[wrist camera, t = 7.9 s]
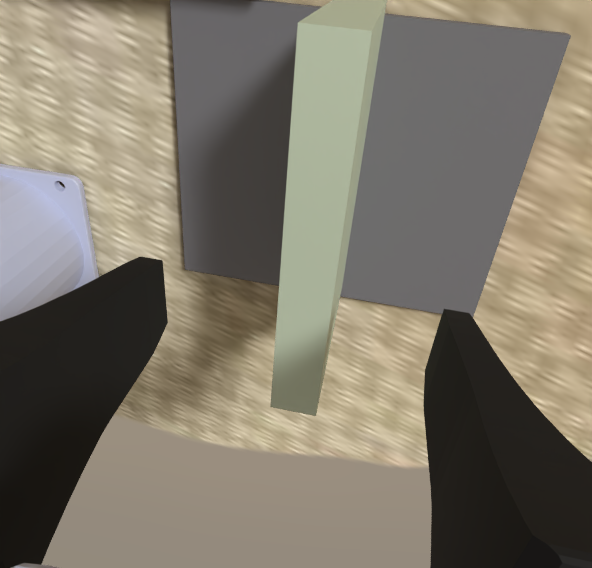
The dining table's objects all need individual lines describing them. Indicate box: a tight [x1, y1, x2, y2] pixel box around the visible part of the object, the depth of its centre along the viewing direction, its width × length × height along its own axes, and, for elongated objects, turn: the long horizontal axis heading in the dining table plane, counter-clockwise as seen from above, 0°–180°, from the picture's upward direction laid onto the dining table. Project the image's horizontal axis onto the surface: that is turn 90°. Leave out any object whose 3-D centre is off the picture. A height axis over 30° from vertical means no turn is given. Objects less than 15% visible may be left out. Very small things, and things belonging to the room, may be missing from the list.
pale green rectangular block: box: [271, 0, 387, 416], centre depth 17 cm, size 2×12×8 cm, turn 175°
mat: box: [170, 0, 571, 318], centre depth 21 cm, size 14×12×1 cm
